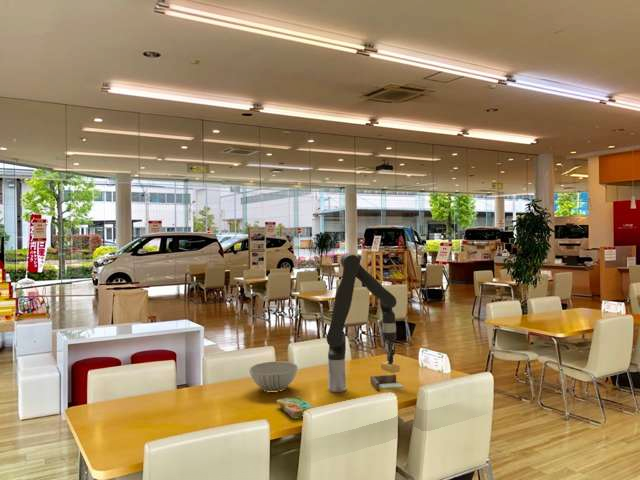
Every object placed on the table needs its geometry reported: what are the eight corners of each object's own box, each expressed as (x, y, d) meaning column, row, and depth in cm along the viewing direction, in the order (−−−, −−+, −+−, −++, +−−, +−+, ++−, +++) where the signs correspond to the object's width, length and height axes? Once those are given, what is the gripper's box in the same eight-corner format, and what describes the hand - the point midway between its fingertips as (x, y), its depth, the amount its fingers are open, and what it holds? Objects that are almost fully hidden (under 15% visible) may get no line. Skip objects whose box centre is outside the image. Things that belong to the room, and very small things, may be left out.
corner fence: (376, 390, 272) (376, 383, 272) (370, 383, 286) (370, 375, 286) (402, 388, 274) (402, 381, 274) (395, 381, 288) (395, 374, 288)
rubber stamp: (380, 369, 282) (380, 347, 282) (389, 367, 285) (388, 346, 285) (391, 373, 273) (390, 351, 273) (400, 371, 276) (399, 349, 276)
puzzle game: (291, 410, 233) (276, 398, 251) (292, 420, 233) (276, 407, 251) (314, 406, 238) (298, 394, 256) (315, 416, 238) (298, 403, 256)
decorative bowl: (267, 400, 261) (266, 377, 260) (240, 389, 281) (240, 367, 281) (308, 389, 278) (307, 367, 277) (280, 379, 298) (279, 358, 298)
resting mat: (382, 388, 275) (382, 388, 275) (378, 384, 283) (378, 383, 283) (403, 387, 277) (403, 386, 277) (399, 382, 284) (399, 382, 284)
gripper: (399, 332, 272) (400, 364, 273) (392, 328, 286) (393, 358, 287) (385, 333, 271) (387, 365, 272) (379, 328, 285) (380, 359, 286)
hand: (390, 361), depth 279 cm, fingers closed on rubber stamp, 3 cm apart
